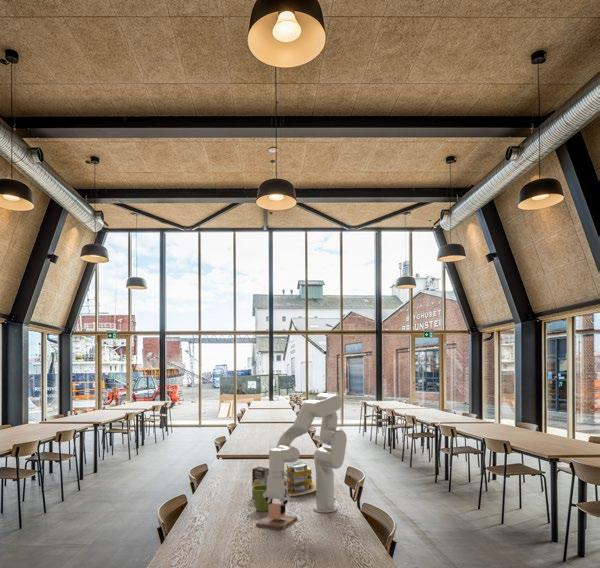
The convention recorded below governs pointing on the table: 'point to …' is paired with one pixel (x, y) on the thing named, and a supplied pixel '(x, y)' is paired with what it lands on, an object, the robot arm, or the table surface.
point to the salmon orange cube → (275, 510)
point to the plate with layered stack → (299, 479)
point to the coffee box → (259, 477)
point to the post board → (276, 522)
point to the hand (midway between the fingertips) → (276, 512)
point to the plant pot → (260, 497)
